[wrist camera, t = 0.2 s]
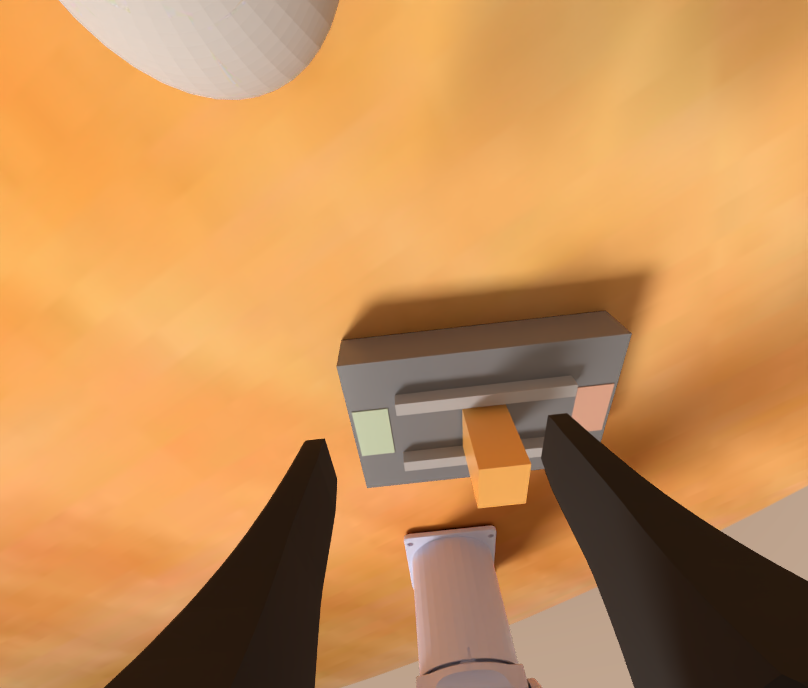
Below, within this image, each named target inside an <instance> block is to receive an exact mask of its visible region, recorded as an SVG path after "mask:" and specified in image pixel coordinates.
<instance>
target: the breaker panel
mask: <svg viewBox="0 0 808 688" xmlns="http://www.w3.org/2000/svg"><path fill="white" fill-rule="evenodd" d="M631 334H632V333H631V332H630V331H628V330H627V329H626V328H625V327H624V326H623V325H621V324H620V323H619V322H618V321H617V320H616V319H615V318H613V317H612V316H611V315H610V314H609V313H608V312H607V311H599V312H590V313H581V314H572V315H563V316H554V317H545V318H536V319H527V320H519V321H510V322H501V323H492V324H483V325H474V326H465V327H456V328H448V329H439V330H430V331H421V332H412V333H403V334H394V335H385V336H377V337H368V338H359V339H350V340H341V345H340V351H339V356H338V362H337V370H338V374H339V378H340V382H341V386H342V390H343V394H344V398H345V402H346V406H347V410H348V414H349V418H350V422H351V426H352V430H353V434H354V438H355V442H356V445H357V449H358V453H359V457H360V461H361V465H362V469H363V473H364V477H365V481H366V485H367V488H372V487H381V486H391V485H400V484H409V483H418V482H428V481H437V480H446V479H455V478H465V477H470V474H469V470H468V465H467V461H466V457H465V453H464V449H463V426H462V409H467V408H477V407H486V406H495V405H504V404H506V406H507V408H508V411H509V413H510V415H511V418H512V420H513V422H514V425H515V427H516V429H517V432H518V434H519V436H520V439H521V441H522V443H523V446H524V448H525V450H526V453H527V455H528V457H529V460H530V462H531V470H539V469H544V466H543V463H542V460H541V454H542V448H543V442H544V436H545V430H546V424H547V418H548V415H554V414H563V413H568V414H569V415H570V416H571V417H572V418H573V419H574V420H576V421H577V422H578V423H579V424H580V425H581V426H582V427H584V428H585V429H586V430H587V431H588V432H589V433H590V434H592V435H593V436H594V437H595V438H596V439H597V440H598V441H600V442H601V439H602V435H603V432H604V428H605V425H606V421H607V418H608V414H609V411H610V407H611V404H612V401H613V397H614V394H615V390H616V387H617V383H618V380H619V376H620V373H621V369H622V366H623V362H624V359H625V355H626V352H627V348H628V345H629V341H630V338H631Z"/></svg>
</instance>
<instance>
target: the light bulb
mask: <svg viewBox="0 0 808 688" xmlns="http://www.w3.org/2000/svg"><path fill="white" fill-rule="evenodd" d="M59 1H60V2H61V3H62V4H63V5H64V7H65V8H66V9H67V10H68V11H69V12H70V13H71V14H72V15H73V17H74V18H75V19H76V20H77V21H79V22H80V23H81V24H82V25H83V26H84V27H85V28H86V29H87V30H88V31H89V32H90V33H92V34H93V35H94V36H95V37H96V38H97V39H98V40H99V41H100V42H101V43H103V44H104V45H105V46H106V47H107V48H109V49H110V50H111V51H113V52H114V53H115V54H117V55H118V56H120V57H121V58H122V59H124V60H125V61H127V62H128V63H129V64H131V65H132V66H133V67H135V68H137V69H138V70H140V71H142V72H144V73H145V74H147V75H149V76H151V77H153V78H155V79H156V80H158V81H160V82H162V83H164V84H166V85H169V86H171V87H174V88H177V89H179V90H182V91H184V92H187V93H190V94H194V95H199V96H203V97H208V98H213V99H227V100H241V99H247V98H253V97H259V96H261V95H264V94H267V93H269V92H272V91H275V90H277V89H279V88H281V87H282V86H284V85H285V84H287V83H289V82H290V81H292V80H293V79H294V78H295V77H296V76H298V75H299V74H300V73H301V72H302V71H303V70H304V69H305V68H306V67H307V66H308V65H309V63H310V62H311V61H312V59H313V58H314V57H315V55H316V54H317V52H318V51H319V50H320V48H321V46H322V44H323V42H324V40H325V38H326V36H327V34H328V32H329V30H330V28H331V25H332V22H333V19H334V16H335V13H336V10H337V7H338V3H339V0H59Z"/></svg>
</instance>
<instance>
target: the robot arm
mask: <svg viewBox="0 0 808 688" xmlns="http://www.w3.org/2000/svg"><path fill="white" fill-rule="evenodd" d="M541 460H542V463H543V466H544V469H545V472H546V475H547V477H548V480H549V483H550V486H551V488H552V491H553V493H554V495H555V497H556V499H557V501H558V503H559V505H560V507H561V509H562V511H563V513H564V515H565V517H566V519H567V522H568V524H569V526H570V528H571V530H572V532H573V534H574V536H575V538H576V540H577V542H578V544H579V546H580V548H581V550H582V552H583V554H584V556H585V558H586V560H587V562H588V565H589V567H590V569H591V571H592V574H593V576H594V578H595V581H596V584H597V586H598V588H599V591H600V594H601V596H602V599H603V601H604V604H605V607H606V609H607V612H608V615H609V617H610V620H611V623H612V626H613V628H614V631H615V634H616V636H617V639H618V642H619V644H620V647H621V650H622V653H623V656H624V659H625V662H626V665H627V668H628V670H629V673H630V676H631V679H632V682H633V685H634V687H635V688H808V581H806V580H805V579H803V578H801V577H799V576H797V575H795V574H794V573H792V572H790V571H788V570H786V569H784V568H782V567H781V566H779V565H777V564H775V563H773V562H772V561H770V560H768V559H766V558H765V557H763V556H761V555H759V554H758V553H756V552H754V551H753V550H751V549H749V548H748V547H746V546H744V545H743V544H741V543H739V542H738V541H736V540H734V539H733V538H731V537H729V536H727V535H726V534H724V533H723V532H721V531H720V530H718V529H716V528H715V527H713V526H712V525H710V524H708V523H707V522H705V521H704V520H702V519H701V518H699V517H698V516H696V515H695V514H693V513H692V512H690V511H689V510H687V509H686V508H685V507H683V506H682V505H680V504H679V503H677V502H676V501H674V500H673V499H671V498H670V497H669V496H667V495H666V494H664V493H663V492H662V491H660V490H659V489H658V488H656V487H655V486H654V485H652V484H651V483H650V482H649V481H647V480H646V479H645V478H643V477H642V476H641V475H639V474H638V473H637V472H636V471H634V470H633V469H632V468H631V467H629V466H628V465H627V464H626V463H625V462H623V461H622V460H621V459H620V458H618V457H617V456H616V455H615V454H614V453H612V452H611V451H610V450H609V449H608V448H607V447H605V446H604V445H603V444H602V443H601V442H600V441H598V440H597V439H596V438H595V437H594V436H593V435H592V434H590V433H589V432H588V431H587V430H586V429H585V428H584V427H582V426H581V425H580V424H579V423H578V422H577V421H576V420H574V419H573V418H572V417H571V416H570V415H569V414H568V413H563V414H554V415H548V418H547V424H546V430H545V436H544V442H543V448H542V454H541ZM336 495H337V477H336V474H335V470H334V467H333V464H332V461H331V457H330V454H329V451H328V448H327V444H326V441H325V439H316V440H307V441H305V442H304V443H303V445H302V447H301V449H300V451H299V452H298V454H297V456H296V458H295V459H294V461H293V463H292V465H291V466H290V468H289V470H288V471H287V473H286V475H285V476H284V478H283V480H282V481H281V483H280V484H279V486H278V488H277V489H276V491H275V492H274V494H273V495H272V497H271V499H270V500H269V502H268V503H267V505H266V506H265V508H264V509H263V511H262V512H261V513H260V515H259V516H258V518H257V519H256V521H255V522H254V523H253V525H252V526H251V528H250V529H249V531H248V532H247V533H246V535H245V536H244V537H243V539H242V540H241V541H240V543H239V544H238V545H237V547H236V548H235V549H234V550H233V552H232V553H231V554H230V556H229V557H228V558H227V559H226V561H225V562H224V563H223V564H222V566H221V567H220V568H219V569H218V570H217V572H216V573H215V574H214V575H213V576H212V577H211V578H210V580H209V581H208V582H207V583H206V584H205V585H204V587H203V588H202V589H201V590H200V591H199V592H198V594H197V595H196V596H195V597H194V598H193V599H192V600H191V601H190V602H189V604H188V605H187V606H186V607H185V608H184V609H183V610H182V611H181V612H180V613H179V614H178V615H177V616H176V617H175V618H174V619H173V620H172V621H171V623H170V624H169V625H168V626H167V627H166V628H165V629H164V630H163V631H162V632H161V633H160V634H159V635H158V636H157V637H156V638H155V639H154V640H153V641H152V642H151V643H150V644H149V645H148V646H147V647H146V648H145V649H144V650H143V651H142V652H141V653H140V654H139V655H138V656H137V657H136V658H135V659H134V660H133V661H132V662H131V663H130V664H129V665H128V666H127V667H126V668H124V669H123V670H122V671H121V672H120V673H119V674H118V675H117V676H116V677H115V678H114V679H113V680H112V681H111V682H110V683H108V684H107V685H106V686H105V687H104V688H315V674H316V660H317V645H318V632H319V620H320V607H321V598H322V590H323V583H324V578H325V572H326V566H327V560H328V554H329V548H330V542H331V536H332V530H333V524H334V518H335V511H336ZM404 543H405V549H406V554H407V560H408V565H409V570H410V576H411V581H412V587H413V589H414V595H415V610H416V625H417V640H418V655H419V670H420V676H417V677H416V683H417V688H543V687H542V686H541V685H540V684H539V683H538V682H537V681H536V679H534V678H530V679H526V675H525V671H524V667H523V665H522V664H518V660H517V656H516V652H515V648H514V644H513V640H512V636H511V633H510V628H509V624H508V620H507V616H506V612H505V608H504V604H503V600H502V596H501V592H500V588H499V584H498V580H497V576H496V572H495V568H494V557H495V543H496V529H495V527H494V526H492V525H489V526H480V527H470V528H461V529H452V530H442V531H433V532H423V533H414V534H407V535H405V536H404Z"/></svg>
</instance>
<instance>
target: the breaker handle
mask: <svg viewBox="0 0 808 688" xmlns="http://www.w3.org/2000/svg"><path fill="white" fill-rule="evenodd" d="M462 426H463V449H464V453H465V457H466V461H467V465H468V470H469V474H470V478H471V482H472V486H473V490H474V494H475V498H476V502H477V506H478V508H487V507H496V506H505V505H515V504H524V503H526V498H527V491H528V484H529V477H530V470H531V462H530V460H529V457H528V455H527V453H526V450H525V448H524V446H523V443H522V441H521V439H520V436H519V434H518V432H517V429H516V427H515V425H514V422H513V420H512V418H511V415H510V413H509V411H508V408H507V406H506V404H504V405H495V406H486V407H477V408H467V409H462Z"/></svg>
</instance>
